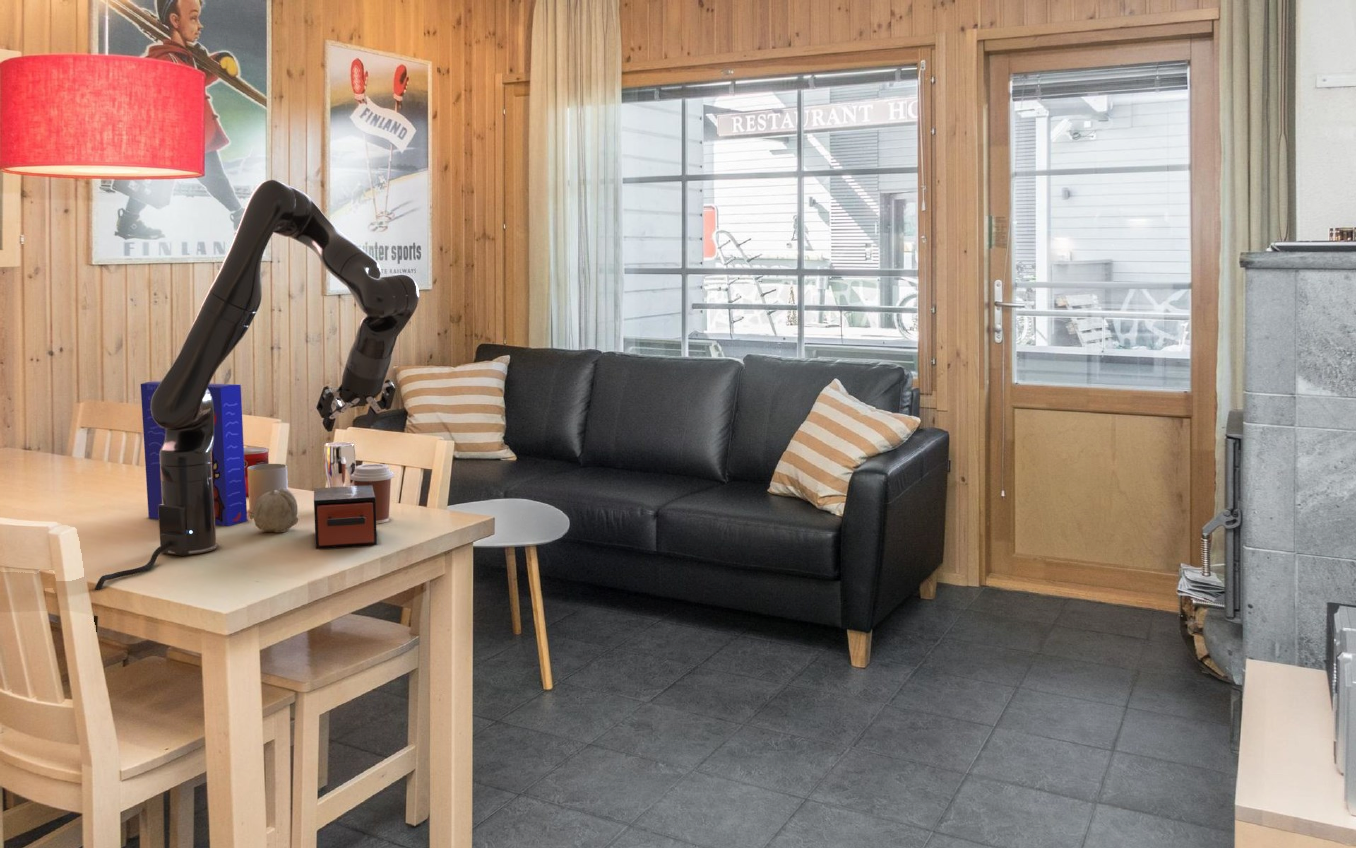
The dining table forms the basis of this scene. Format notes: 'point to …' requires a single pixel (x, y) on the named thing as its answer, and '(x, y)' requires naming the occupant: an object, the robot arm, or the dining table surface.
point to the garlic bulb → (275, 511)
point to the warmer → (344, 496)
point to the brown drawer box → (345, 523)
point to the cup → (265, 480)
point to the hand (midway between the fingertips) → (348, 425)
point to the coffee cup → (376, 486)
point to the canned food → (254, 460)
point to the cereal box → (224, 453)
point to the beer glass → (339, 463)
